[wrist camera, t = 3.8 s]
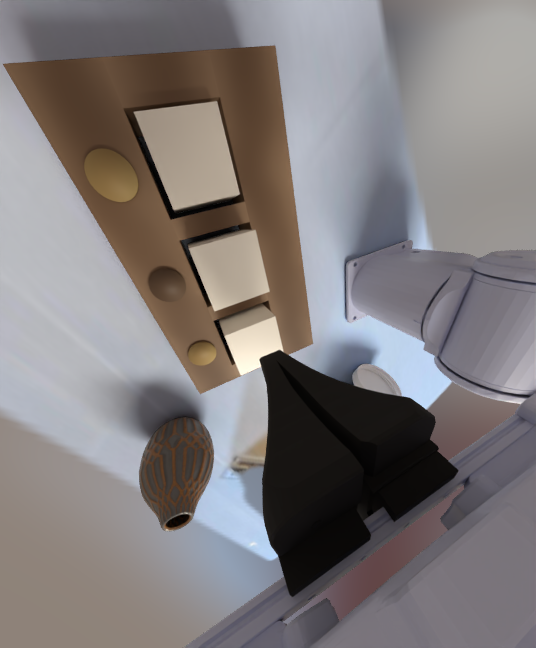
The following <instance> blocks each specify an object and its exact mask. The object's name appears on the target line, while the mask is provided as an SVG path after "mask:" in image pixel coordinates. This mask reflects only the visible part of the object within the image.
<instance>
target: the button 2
mask: <svg viewBox="0 0 536 648" xmlns="http://www.w3.org/2000/svg"><path fill="white" fill-rule="evenodd" d="M218 320H219V323H220V325H221V328H222V331H223V333H224V336H225V339H226V341H227V343H228V346H229V348H230V351H231V353H232V356H233V358H234V361H235V363H236V366H237V368H238V370H239V373H240V375H244V374H246V373H248V372H250V371H253V370H255V369H257V368H259V367H261V364H260V361H259V359H260V358H261V357H263V356H265V355H268V354H270V353H273V352H275V351H277V350H281V351H283V347H282V343H281V338H280V334H279V330H278V325H277V321H276V317H275V315H274V314H273V313H272V312H271V311H270V310H269V309H268V308H266V307H265V306H264V305H263V304H262V303H260V304H258V305H255V306H252V307H249V308H247V309H244V310H241V311H239V312H236V313H233V314H231V315H228V316H225V317H222V318H220V319H218Z"/></svg>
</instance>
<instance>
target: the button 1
mask: <svg viewBox="0 0 536 648" xmlns="http://www.w3.org/2000/svg"><path fill="white" fill-rule="evenodd" d="M134 114H135V117H136V119H137V121H138V124H139V126H140V129H141V131H142V134H143V136H144V139H145V141H146V144H147V146H148V148H149V151H150V153H151V156H152V158H153V161H154V163H155V166H156V168H157V171H158V173H159V176H160V178H161V180H162V183H163V185H164V188H165V190H166V193H167V195H168V198H169V200H170V203H171V205H172V207H173V210H174V212H175V213H176V214H178V213H182V212H186V211H191V210H195V209H199V208H203V207H207V206H211V205H216V204H220V203H224V202H228V201H229V200H231V199H233V198H234V197H236V196H238V195H239V194H240V193H239V189H238V184H237V180H236V176H235V172H234V168H233V164H232V160H231V156H230V152H229V148H228V144H227V140H226V136H225V132H224V128H223V123H222V119H221V115H220V111H219V107H218V103H217V101H215V102H207V103H199V104H191V105H183V106H175V107H167V108H159V109H151V110H144V111H136V112H134Z"/></svg>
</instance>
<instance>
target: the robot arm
mask: <svg viewBox="0 0 536 648" xmlns="http://www.w3.org/2000/svg"><path fill="white" fill-rule="evenodd" d="M412 244H413V242H412V240H407V241H404V242H401V243H398V244H395V245H393V246H390V247H387V248H384V249H381V250H379V251H376V252H373V253H370V254H367V255H365V256H362V257H359V258H356V259H353V260H351V261H349V262H347V264H346V310H347V322H349V323H352V322H354V321H356V320H358V319H361V318H363V317H365V316H367V315H368V316H371V317H373V318H375V319H377V320H379V321H381V322H383V323H385V324H387V325H389V326H392V327H394V328H396V329H398V330H400V331H402V332H404V333H406V334H408V335H410V336H413V337H415V338H417V339H419V340H421V341H423V342H425V345H424V350H425V351H427V352H429V353H431V354H433V355H435V357H434V361H435V364H436V366H437V368H438V369H439V370H440V371H441V372H442V373H443V374H444V375H445V376H447V377H448V378H449V379H450V380H451V381H453V382H454V383H456V384H457V385H459V386H461V387H463V388H464V389H466V390H468V391H471V392H473V393H475V394H478V395H481V396H484V397H487V398H491V399H494V400H500V401H505V402H512V403H519V404H521V405H520V406H519V407H518V409H517V410H516V412H515V413H516V414H515V415H513V416H511V417H510V418H508V419H507V420H506V421H504V422H503V423H501V424H500V425H498V426H497V427H496V428H494V429H493V430H491V431H490V432H489V433H487V434H486V435H484V436H483V437H481V438H480V439H479V440H478V441H476V442H474V443H473V444H471V445H470V446H469V447H467V448H466V449H464V450H463V451H462V452H460V453H459V454H457V455H456V456H455V457H453V458H452V459H450V460H449V461H448V460H447V459H446V458H445V457H443V456H442V455H441V454H440V453H439V452H438V451H437V450H438V449H439V448H438V446H437V445H436V444H435V443H433V442H432V441H431V440H430V437H431V434H432V432H433V429H434V426H435V423H436V422H435V417H434V415H432V414H431V413H430V412H428V411H427V410H426V409H425V408H423V407H422V406H421V405H420V404H418V403H417V402H415V401H414V400H412V399H411V398H408V397H402V396H397V395H391V394H385V393H381V392H376V391H372V390H368V389H364V388H361V387H357V386H354V385H351V384H347V383H344V382H341V381H339V380H336V379H333V378H331V377H328V376H326V375H324V374H322V373H320V372H318V371H315V370H313V369H311V368H310V367H308V366H306V365H304V364H302V363H300V362H299V361H297V360H295V359H294V358H292V357H290V356H289V355H287V354H286V353H284V352H283V351H281V350H277V351H275V352H273V353H270V354H268V355H265V356H263V357H261V358H260V359H259V361H260V364H261V367H262V371H263V374H264V377H265V381H266V384H267V394H268V436H267V447H266V457H265V464H264V471H263V478H262V485H263V516H264V523H265V527H266V531H267V534H268V538H269V541H270V545H271V546H272V548H273V549H274V551H275V552H276V553H277V555H278V557H279V560H280V563H281V567H282V571H283V574H284V577H283V578H281V579H280V580H279V581H277V582H276V583H274V584H273V585H271V586H270V587H268V588H267V589H266V590H264V591H263V592H261V593H260V594H258V595H257V596H256V597H254V598H253V599H251V600H250V601H249V602H247V603H246V604H244V605H243V606H241V607H240V608H239V609H237V610H236V611H234V612H233V613H232V614H230V615H229V616H227V617H226V618H224V619H223V620H222V621H220V622H219V623H217V624H216V625H214V626H213V627H212V628H210V629H209V630H207V631H206V632H205V633H203V634H202V635H200V636H199V637H198V638H196V639H195V640H193V641H192V642H190V643H189V644H187V645H186V646H185V647H183V648H536V250H509V251H496V252H491V253H489V254H487V255H486V256H483V257H481V258H477V257H475V256H473V255H469V254H464V253H454V252H442V251H432V250H421V249H412ZM354 263H355V265H354ZM462 485H464V490H463V491H462V492H461V493H460V494H459V495H457V496H456V497H455V498H454V499H453V501H452V504H451V506H450V507H449V509H448V510H447V511H446V513H444V515H443V516H442V517H441V518H440V519H441V522H442V523H443V524H444V526H445V527H446V528H447V529H448V531H447V532H445V533H444V534H443V535H442V536H440V537H439V538H438V539H437V540H435V541H434V542H433V543H432V544H431V545H429V546H428V547H427V548H426V549H424V550H423V551H422V552H421V553H420V554H418V555H417V556H416V557H415V558H414V559H412V560H411V561H410V562H409V563H408V564H406V565H405V566H404V567H403V568H402V569H400V570H399V571H398V572H397V573H396V574H395V575H393V576H392V577H391V578H390V579H389V580H388V581H386V582H385V583H384V584H383V585H382V586H380V587H379V588H378V589H377V590H376V591H375V592H373V593H372V594H371V595H370V596H369V597H368V598H366V599H365V600H364V601H363V602H362V603H361V604H359V605H358V606H357V607H356V608H355V609H354V610H352V611H351V612H350V613H349V614H348V615H347V616H346V617H344V618H343V619H342V620H341V621H340V622H339V619H338V617H337V614H336V612H335V609H334V607H333V606H332V605H331V603H330V600H328V599H327V598H326V599H324V600H323V601H321V602H319V603H318V604H316V605H315V606H313V607H311V608H310V609H309V610H307V611H305V612H304V613H302V614H300V615H299V616H298V617H296V618H295V619H294V620H292V621H291V622H290V623H289V624H288V625H287V624H285V623H283V621H285V620H286V619H287V618H289V617H290V616H291V615H293V614H294V613H295V612H297V611H298V610H299V609H300V608H302V607H303V606H305V605H306V604H307V603H309V602H310V601H311V600H312V599H314V598H315V597H316V596H318V595H319V594H320V593H322V592H323V591H324V590H326V589H327V588H328V587H329V586H331V585H332V584H334V583H335V582H336V581H337V580H339V579H340V578H341V577H343V576H344V575H345V574H347V573H348V572H349V571H351V570H352V569H353V568H355V567H356V566H357V565H359V564H360V563H361V562H362V561H364V560H365V559H366V558H368V557H369V556H370V555H371V554H373V553H374V552H376V551H377V550H378V549H379V548H381V547H382V546H384V545H385V544H386V543H387V542H389V541H390V540H391V539H393V538H394V537H395V536H397V535H398V534H399V533H400V532H402V531H403V530H405V529H406V528H407V527H409V526H410V525H411V524H412V523H414V522H415V521H416V520H418V519H419V518H420V517H422V516H423V515H424V514H425V513H427V512H428V511H430V510H431V509H432V508H434V507H435V506H436V505H438V503H440V502H441V501H443V500H444V499H445V498H447V497H448V496H449V495H451V494H452V493H453V492H455V491H456V490H457V489H459V488H460V487H461V486H462Z"/></svg>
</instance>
